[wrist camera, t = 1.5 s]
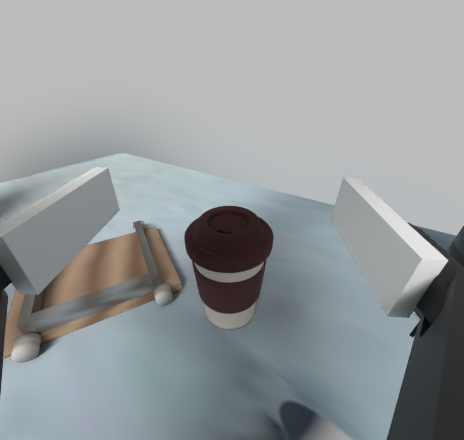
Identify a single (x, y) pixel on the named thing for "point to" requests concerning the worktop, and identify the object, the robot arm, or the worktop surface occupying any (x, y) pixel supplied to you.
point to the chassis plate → (92, 290)
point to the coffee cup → (229, 262)
